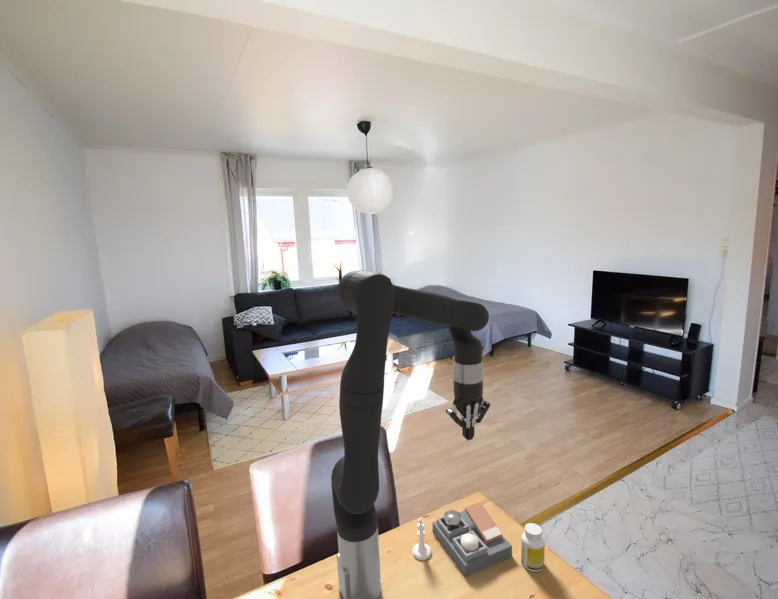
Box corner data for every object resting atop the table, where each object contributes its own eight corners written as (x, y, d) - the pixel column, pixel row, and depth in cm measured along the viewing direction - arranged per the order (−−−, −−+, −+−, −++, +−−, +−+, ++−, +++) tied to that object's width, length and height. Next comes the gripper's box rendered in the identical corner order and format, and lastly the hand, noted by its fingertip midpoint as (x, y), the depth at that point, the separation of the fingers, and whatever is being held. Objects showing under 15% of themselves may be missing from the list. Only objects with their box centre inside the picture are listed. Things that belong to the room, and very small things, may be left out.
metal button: (449, 530, 106) (449, 523, 105) (441, 519, 110) (441, 513, 109) (464, 524, 107) (463, 518, 107) (455, 514, 111) (455, 508, 111)
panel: (465, 576, 97) (465, 560, 96) (432, 531, 112) (432, 517, 111) (511, 556, 102) (512, 540, 102) (474, 515, 117) (474, 501, 116)
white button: (467, 556, 99) (467, 549, 98) (457, 544, 103) (457, 537, 102) (482, 550, 100) (482, 543, 100) (471, 538, 104) (471, 531, 104)
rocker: (485, 543, 103) (486, 540, 102) (464, 510, 111) (465, 507, 110) (501, 537, 105) (502, 533, 104) (479, 504, 113) (480, 501, 112)
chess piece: (424, 563, 101) (423, 528, 100) (408, 554, 104) (407, 520, 102) (434, 550, 105) (434, 516, 103) (419, 542, 108) (417, 509, 106)
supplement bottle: (548, 566, 99) (550, 531, 97) (533, 576, 96) (534, 540, 94) (531, 551, 103) (532, 517, 102) (516, 560, 101) (516, 526, 99)
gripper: (454, 387, 99) (454, 451, 102) (498, 377, 104) (497, 439, 107) (438, 377, 105) (439, 438, 109) (480, 368, 110) (480, 426, 114)
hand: (468, 438), depth 108 cm, fingers closed
